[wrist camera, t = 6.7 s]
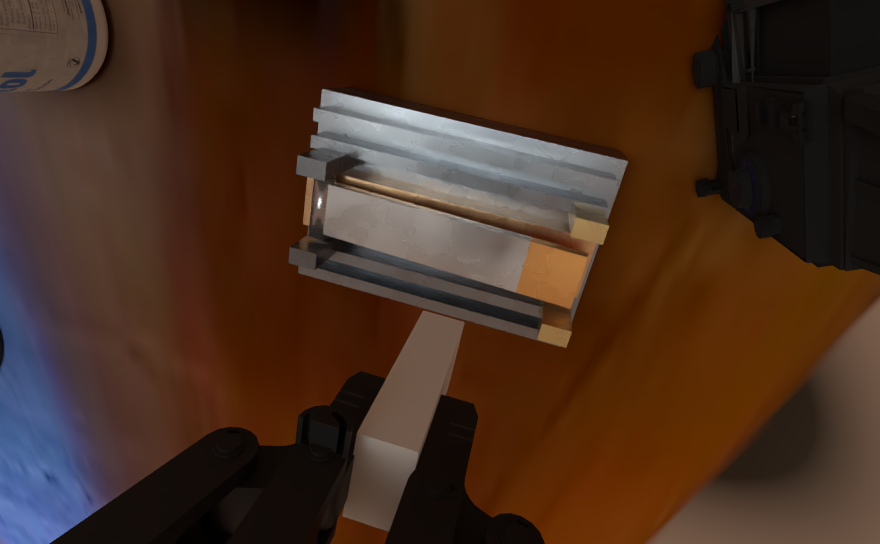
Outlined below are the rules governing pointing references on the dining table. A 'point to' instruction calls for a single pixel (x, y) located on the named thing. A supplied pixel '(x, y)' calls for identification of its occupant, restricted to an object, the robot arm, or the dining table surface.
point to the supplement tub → (50, 44)
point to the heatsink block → (456, 201)
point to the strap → (447, 242)
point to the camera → (800, 124)
